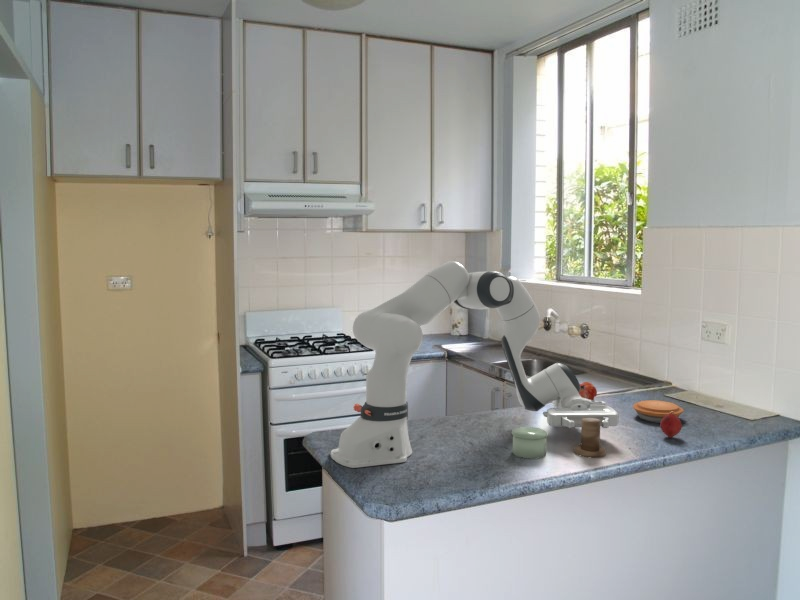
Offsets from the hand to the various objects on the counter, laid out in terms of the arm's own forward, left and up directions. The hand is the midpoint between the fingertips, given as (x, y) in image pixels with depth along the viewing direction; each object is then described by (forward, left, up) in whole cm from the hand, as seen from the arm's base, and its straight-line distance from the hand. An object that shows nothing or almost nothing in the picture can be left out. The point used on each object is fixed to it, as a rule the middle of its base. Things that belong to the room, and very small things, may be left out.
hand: (589, 425), depth 188 cm
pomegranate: (+39, +39, -7) cm, 56 cm away
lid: (-1, -2, -7) cm, 7 cm away
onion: (+30, -4, -7) cm, 31 cm away
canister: (-16, +6, -7) cm, 19 cm away
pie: (+44, +12, -7) cm, 46 cm away
